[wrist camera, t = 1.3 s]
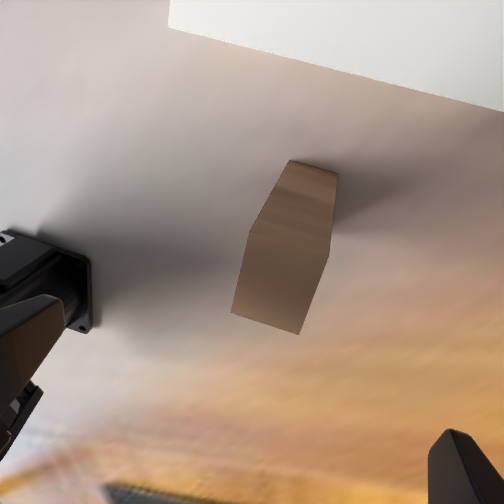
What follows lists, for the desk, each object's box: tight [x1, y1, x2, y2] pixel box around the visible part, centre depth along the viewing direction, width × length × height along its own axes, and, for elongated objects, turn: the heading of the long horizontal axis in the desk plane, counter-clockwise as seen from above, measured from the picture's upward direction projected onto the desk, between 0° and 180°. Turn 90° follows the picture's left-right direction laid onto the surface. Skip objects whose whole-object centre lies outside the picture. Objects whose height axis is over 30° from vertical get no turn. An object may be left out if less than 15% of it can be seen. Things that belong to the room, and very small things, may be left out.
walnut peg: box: [231, 160, 338, 335], centre depth 15 cm, size 3×2×8 cm
